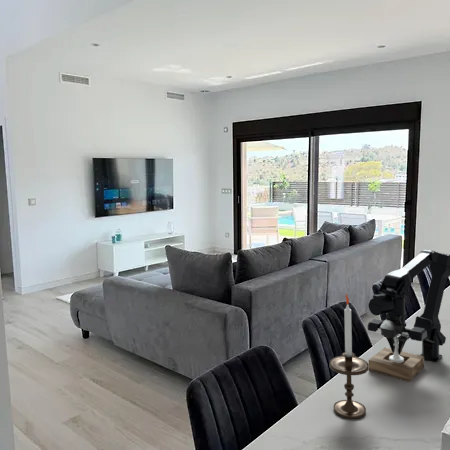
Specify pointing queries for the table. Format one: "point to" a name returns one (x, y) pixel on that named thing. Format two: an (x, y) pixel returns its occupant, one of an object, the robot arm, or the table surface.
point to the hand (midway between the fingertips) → (396, 353)
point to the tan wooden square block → (396, 365)
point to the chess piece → (396, 352)
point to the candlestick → (349, 373)
